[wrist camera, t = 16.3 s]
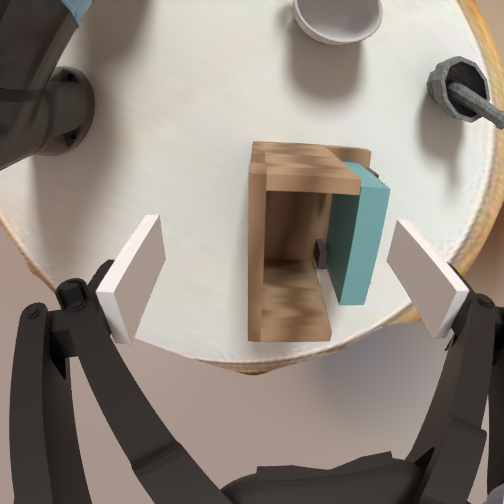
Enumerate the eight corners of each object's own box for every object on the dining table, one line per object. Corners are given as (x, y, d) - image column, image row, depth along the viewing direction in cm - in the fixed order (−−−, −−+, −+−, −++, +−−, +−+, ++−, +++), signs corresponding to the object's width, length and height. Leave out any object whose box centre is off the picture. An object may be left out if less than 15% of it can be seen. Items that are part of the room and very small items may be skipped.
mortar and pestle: (407, 82, 35) (450, 83, 24) (437, 47, 31) (483, 42, 21) (449, 133, 38) (494, 150, 28) (476, 99, 34) (523, 109, 24)
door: (323, 258, 48) (338, 305, 38) (335, 160, 40) (360, 186, 30) (352, 258, 48) (373, 304, 38) (367, 163, 40) (401, 190, 30)
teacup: (376, 33, 32) (399, 24, 25) (317, 63, 35) (329, 56, 28) (321, -38, 26) (332, -59, 19) (259, -10, 29) (259, -30, 22)
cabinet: (251, 262, 51) (247, 341, 35) (253, 141, 41) (249, 173, 25) (349, 264, 51) (381, 338, 35) (367, 149, 41) (425, 186, 25)
